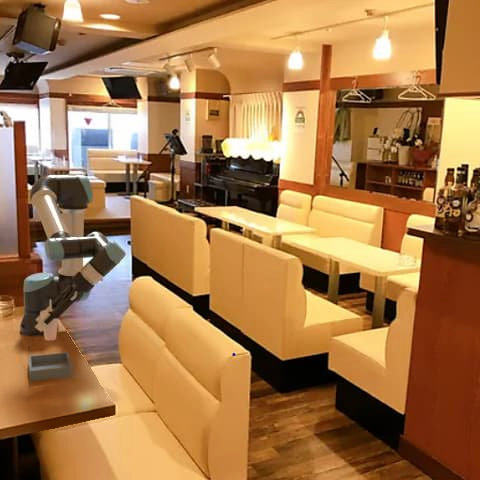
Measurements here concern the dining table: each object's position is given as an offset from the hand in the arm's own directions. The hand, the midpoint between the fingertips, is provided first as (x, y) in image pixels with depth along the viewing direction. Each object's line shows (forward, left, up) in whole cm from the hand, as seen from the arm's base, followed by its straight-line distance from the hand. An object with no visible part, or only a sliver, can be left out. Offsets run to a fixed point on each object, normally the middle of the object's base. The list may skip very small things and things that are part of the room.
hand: (38, 325), depth 194 cm
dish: (-1, +3, -17) cm, 17 cm away
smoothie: (-1, +4, -5) cm, 6 cm away
